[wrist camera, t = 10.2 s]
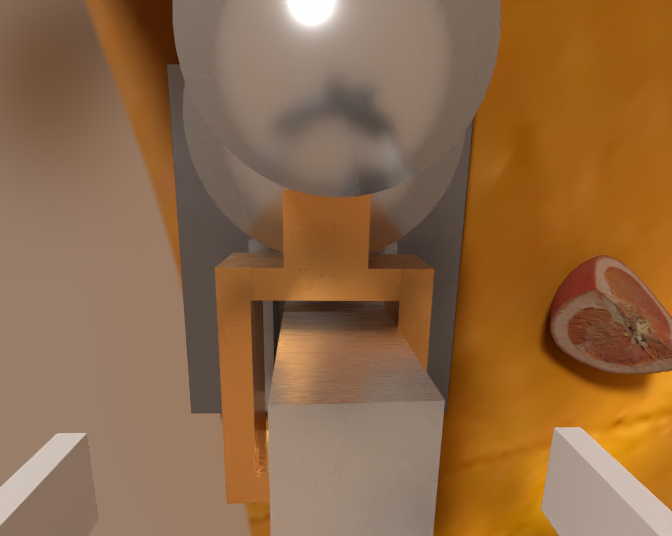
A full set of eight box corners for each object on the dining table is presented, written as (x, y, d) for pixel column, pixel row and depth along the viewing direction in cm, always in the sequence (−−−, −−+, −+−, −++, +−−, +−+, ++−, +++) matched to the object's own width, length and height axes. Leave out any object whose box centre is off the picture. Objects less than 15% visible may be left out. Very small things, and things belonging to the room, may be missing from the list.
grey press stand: (439, 398, 27) (661, 790, 10) (198, 400, 26) (-42, 832, 9) (468, 63, 22) (1005, -375, 5) (175, 53, 22) (-438, -513, 4)
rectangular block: (354, 355, 25) (426, 607, 10) (291, 356, 24) (272, 619, 10) (356, 264, 23) (444, 400, 9) (291, 265, 23) (267, 405, 8)
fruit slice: (657, 302, 26) (734, 329, 22) (589, 374, 27) (648, 415, 22) (575, 230, 25) (636, 241, 20) (506, 307, 26) (549, 336, 21)
